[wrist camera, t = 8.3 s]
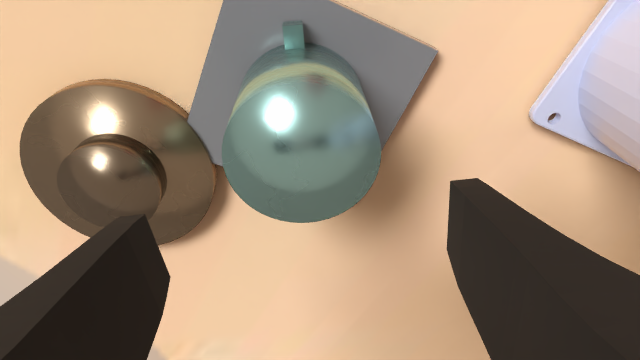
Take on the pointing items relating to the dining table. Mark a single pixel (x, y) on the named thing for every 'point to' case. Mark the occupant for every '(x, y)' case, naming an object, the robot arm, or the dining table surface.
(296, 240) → the dining table surface
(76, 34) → the dining table surface
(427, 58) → the coaster
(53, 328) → the robot arm
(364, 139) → the teal mug
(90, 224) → the bronze metal disc
